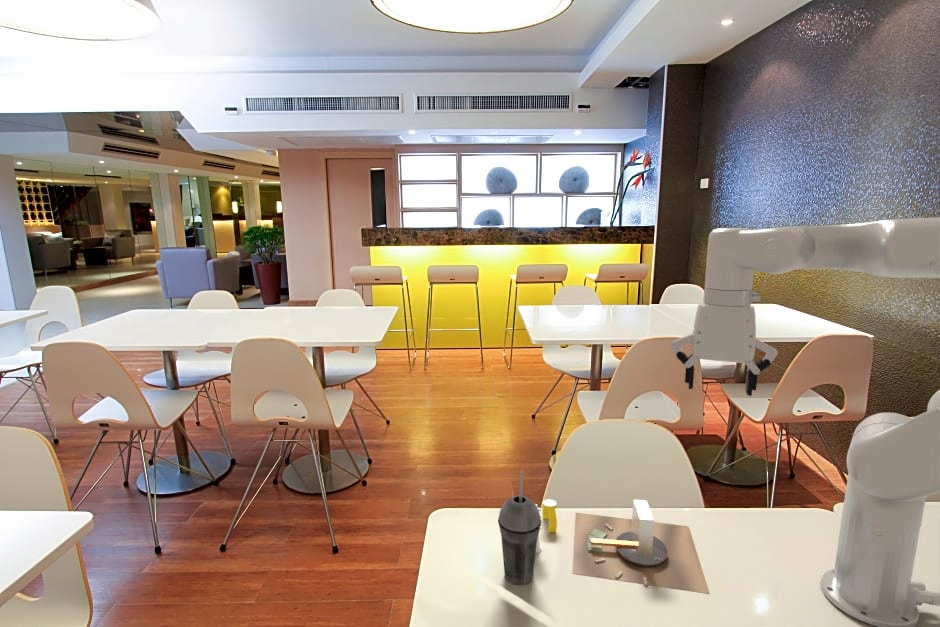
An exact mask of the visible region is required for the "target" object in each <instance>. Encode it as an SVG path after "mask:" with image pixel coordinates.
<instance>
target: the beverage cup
mask: <svg viewBox="0 0 940 627" xmlns="http://www.w3.org/2000/svg"><path fill="white" fill-rule="evenodd" d="M519 476H520V477H519V494H518V495H516V496H511V497H510V498H508V499H507V500H506V501H505V502H504V503H503V504H502V506H501V507H500V511H499V513H498V514H499V515H498V519H497V522H498V527H499V532H500V536H501V538H500V539H501V547H502V559H503V570H504V571H503V572H504V573H503V574H504V576H505V579H506V580H507V582H509V583H510V584H512V585H516V586H525V585H527V584H529V583H531V581H532V580H533V577H534V572H535V571H534V570H535V569H534V568H535V561H536V544H537V537H538V534H540V530H541V529H540V526H541V527H542V520H541V519H542V518H541V519H540V514H541V512H540V511H538V508H539V507H538V505H537V506H536V505H535V504H536V503H535V502H534V501H532V499H531V498H530V497H529V498H528V497H527V496H524V495H523V494H524V493H523V491H524V488H523V487H524V470H520V473H519Z"/></svg>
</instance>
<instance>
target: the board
mask: <svg viewBox="0 0 940 627" xmlns="http://www.w3.org/2000/svg"><path fill="white" fill-rule="evenodd" d="M574 519H575V520H574V535H573V558H572V560H573V561H572V574H574V575H579V576H586V577H587V576H588V577H593V578H599V579H607V580H613V581H621V582H626V583H634V584H639V585H640V584H641V585H643V586H646V587H648V586H653V587H659V588H660V587H661V588H668V589H675V590H681V591H687V592H695V593H701V594H709V595H710V594H711V593H710V590H709V586H708V584H707V581H706V577H705V573H704V571H703V568H702V565H701V564H702V563H701V561H700V558H699V554H698V552H697V549H696V545H695V542H694V540H693V536H692V533H691V529H690V527H689V526H688V525H683V524H681V525H680V524H672V523H666V522H665V523H664V522H656V521H654V531H653V536H654V537H656V538H658V539H659V540H660V541H662V542H663V543H664V545H665V546H666V548H667V559H666V561H665V562H664V563H663V564H662V565H660V566H656V567H641V566H637V565H634V564H631V563H629V562H627V561H625V560H624V559H623V558H621V557H620V556H619V555H618V553H617V551H616V548H615V546H603V545H591V538H595V539H608V540H616V539H617V537H618V536H619V535H621V534H623V533H626V532H631V531H632V519H631V518H623V517H616V516H615V517H614V516H607V515H598V514H589V513H581V512H575V518H574Z"/></svg>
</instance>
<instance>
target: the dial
mask: <svg viewBox="0 0 940 627" xmlns="http://www.w3.org/2000/svg"><path fill="white" fill-rule="evenodd" d="M632 502H633V504H632V516H631V518H632V531H631V532H626V533H623V534H621V535H619V536H618V537H617V539H616V540H608V539H595V538H591V545H603V546H615V548H616V551H617V553H618V555H619V556H620V557H621V558H623V559H624V560H625V561H627V562H629V563H631V564H634V565H637V566H641V567H656V566H660V565H662V564H663V563H664V562H665V561H666V559H667V548H666V546H665V545H664V543H663V542H662V541H660V540H659V539H658V538H656V537H654V536H653V531H654V522H655V519H654V517H653V516H654V515H653V513H652V511H651V508H650V505H649V503H648V501H647V500H644V499H633V501H632Z"/></svg>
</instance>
